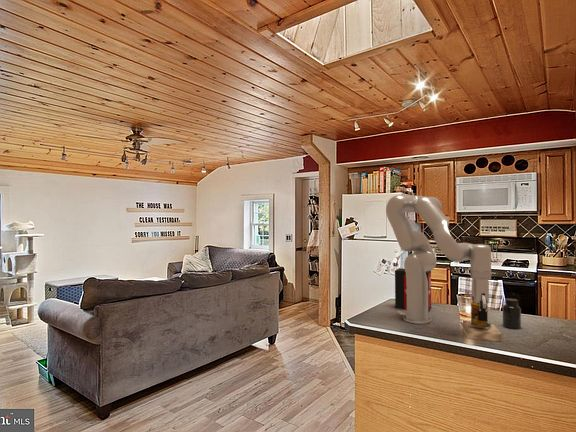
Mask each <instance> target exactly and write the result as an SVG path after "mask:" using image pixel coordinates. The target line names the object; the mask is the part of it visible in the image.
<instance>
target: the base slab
mask: <svg viewBox="0 0 576 432" xmlns="http://www.w3.org/2000/svg"><path fill="white" fill-rule="evenodd" d="M470 323H471V322H462V331H463V332H464V334H465V336H466V337H467V339H468V340H477V341H478V340H479V341H480V340H481V341H494V342H502V341H503V334H502V332H501V331H500V330H499V329H498V328H497V326H496V325H495V324H493V323H492V324H491V325H490V327H489V328H488V329H486V328H479V327H473V326H469V324H470Z"/></svg>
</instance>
